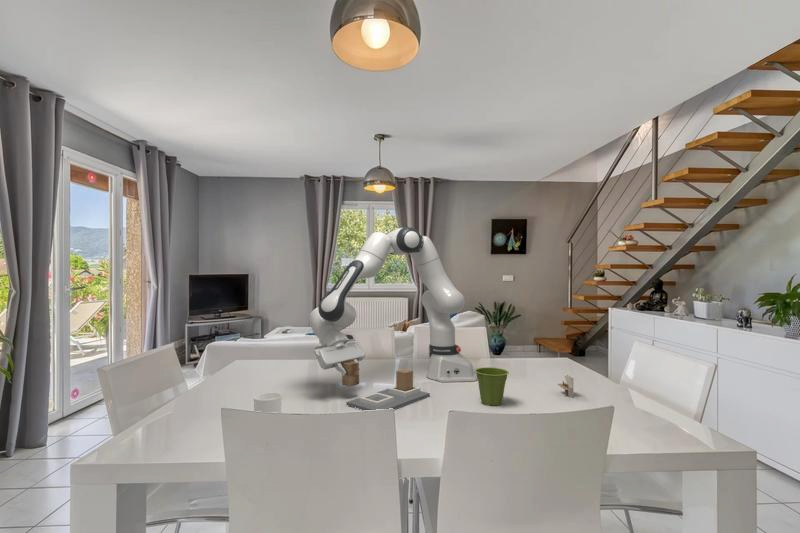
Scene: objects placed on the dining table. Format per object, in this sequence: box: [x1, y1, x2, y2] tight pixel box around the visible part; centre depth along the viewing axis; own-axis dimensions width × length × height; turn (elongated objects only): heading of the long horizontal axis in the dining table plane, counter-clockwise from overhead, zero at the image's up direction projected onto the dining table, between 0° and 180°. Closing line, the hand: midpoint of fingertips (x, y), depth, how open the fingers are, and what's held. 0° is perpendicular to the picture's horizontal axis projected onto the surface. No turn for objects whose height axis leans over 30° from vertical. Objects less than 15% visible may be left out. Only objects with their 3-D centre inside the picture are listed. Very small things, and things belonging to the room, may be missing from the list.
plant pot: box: [474, 366, 510, 406], centre depth 148 cm, size 12×12×11 cm
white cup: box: [253, 391, 283, 414], centre depth 123 cm, size 8×8×10 cm
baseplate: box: [345, 368, 431, 411], centre depth 151 cm, size 27×16×9 cm, turn 139°
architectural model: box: [556, 374, 575, 399], centre depth 157 cm, size 3×7×7 cm, turn 1°
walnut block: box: [341, 361, 360, 388], centre depth 155 cm, size 4×4×8 cm
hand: (351, 372), depth 155 cm, fingers closed on walnut block, 4 cm apart
